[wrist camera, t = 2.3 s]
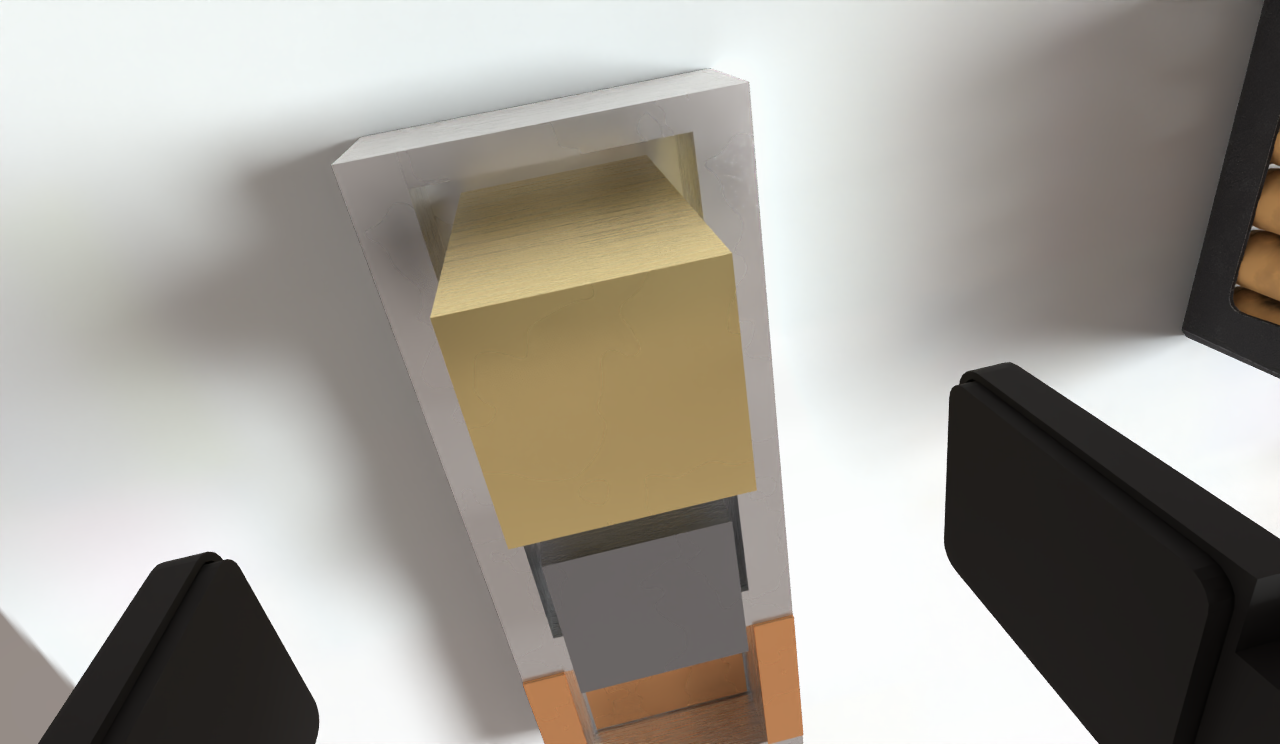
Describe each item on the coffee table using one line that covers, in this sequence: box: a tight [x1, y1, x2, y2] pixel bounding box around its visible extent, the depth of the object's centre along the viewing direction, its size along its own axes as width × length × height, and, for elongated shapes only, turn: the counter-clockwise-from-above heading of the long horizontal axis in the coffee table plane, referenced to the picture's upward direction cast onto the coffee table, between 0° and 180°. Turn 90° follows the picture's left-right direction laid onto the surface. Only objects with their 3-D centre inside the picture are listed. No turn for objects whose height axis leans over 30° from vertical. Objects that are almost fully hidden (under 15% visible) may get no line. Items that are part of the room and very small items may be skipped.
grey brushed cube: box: [540, 499, 749, 694], centre depth 18 cm, size 4×4×4 cm
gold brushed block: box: [430, 155, 757, 550], centre depth 14 cm, size 4×4×7 cm
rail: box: [331, 68, 803, 744], centre depth 20 cm, size 21×8×3 cm, turn 10°
